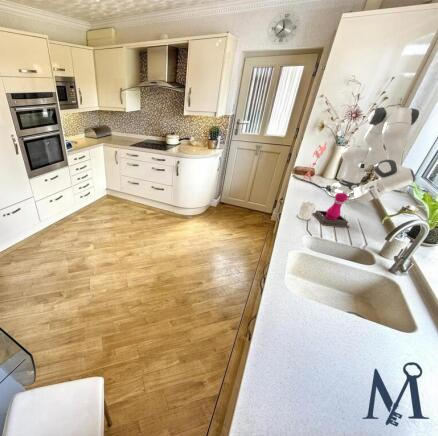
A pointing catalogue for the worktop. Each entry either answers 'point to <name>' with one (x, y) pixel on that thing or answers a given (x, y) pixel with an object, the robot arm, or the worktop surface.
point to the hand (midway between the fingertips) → (346, 199)
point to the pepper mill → (336, 206)
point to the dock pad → (328, 222)
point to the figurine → (317, 158)
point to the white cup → (306, 210)
